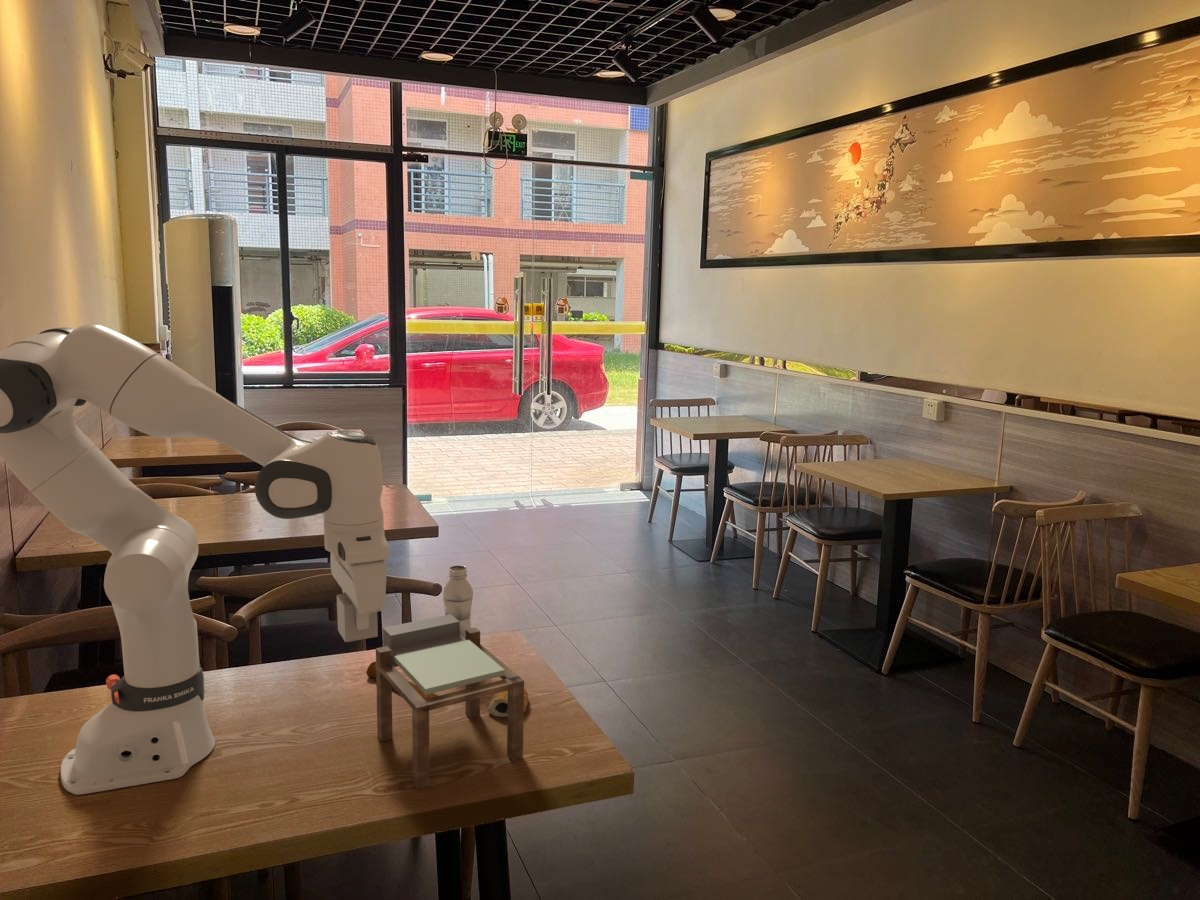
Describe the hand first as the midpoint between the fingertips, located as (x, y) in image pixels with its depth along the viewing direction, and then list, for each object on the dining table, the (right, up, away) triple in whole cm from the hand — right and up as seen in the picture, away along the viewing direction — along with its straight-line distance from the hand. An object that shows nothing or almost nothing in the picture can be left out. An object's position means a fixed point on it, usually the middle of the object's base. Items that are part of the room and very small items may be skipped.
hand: (356, 620), depth 136 cm
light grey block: (0, -2, 0) cm, 2 cm away
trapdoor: (+10, -12, +14) cm, 21 cm away
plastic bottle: (+8, -18, +49) cm, 52 cm away
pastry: (+21, -23, +28) cm, 42 cm away
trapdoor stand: (+12, -25, +14) cm, 31 cm away
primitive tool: (0, -21, +34) cm, 40 cm away
